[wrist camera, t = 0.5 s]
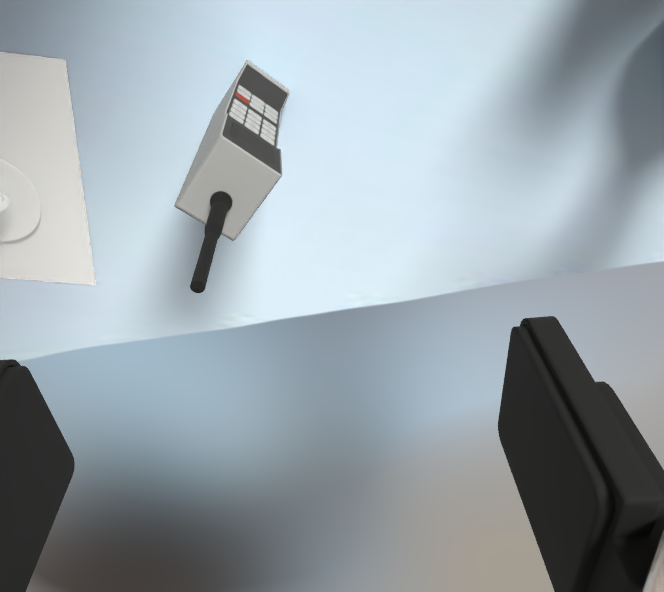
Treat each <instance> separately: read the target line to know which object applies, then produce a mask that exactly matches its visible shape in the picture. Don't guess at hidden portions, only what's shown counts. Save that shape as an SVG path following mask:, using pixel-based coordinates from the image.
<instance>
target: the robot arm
mask: <svg viewBox="0 0 664 592" xmlns="http://www.w3.org/2000/svg"><path fill="white" fill-rule="evenodd" d="M498 431H499V437H500V441H501V444H502V447H503V449H504V452H505V455H506V458H507V460H508V463H509V466H510V469H511V472H512V474H513V477H514V480H515V483H516V485H517V488H518V491H519V494H520V496H521V499H522V502H523V505H524V508H525V510H526V513H527V516H528V519H529V521H530V524H531V527H532V530H533V532H534V535H535V538H536V541H537V544H538V546H539V549H540V552H541V555H542V557H543V560H544V563H545V566H546V569H547V571H548V574H549V577H550V580H551V582H552V585H553V588H554V591H555V592H664V470H663V468H662V467H661V465H660V464H659V462H658V461H657V459H656V457H655V456H654V454H653V452H652V451H651V449H650V448H649V446H648V445H647V443H646V441H645V440H644V438H643V436H642V435H641V433H640V432H639V430H638V429H637V427H636V425H635V424H634V422H633V421H632V419H631V417H630V416H629V414H628V413H627V411H626V410H625V408H624V406H623V405H622V403H621V401H620V400H619V398H618V397H617V395H616V394H615V392H614V391H613V389H612V388H611V387H610V386H609V385H608V384H606V383H605V382H595V381H594V379H593V378H592V376H591V374H590V373H589V371H588V370H587V368H586V366H585V365H584V363H583V361H582V359H581V358H580V356H579V354H578V353H577V351H576V349H575V348H574V346H573V345H572V343H571V341H570V340H569V338H568V336H567V335H566V333H565V331H564V330H563V328H562V326H561V325H560V323H559V321H558V320H557V319H556V318H555V317H553V316H549V317H537V318H525V319H523V320H522V321H521V324H520V326H519V327H513V328H512V331H511V336H510V343H509V350H508V357H507V364H506V371H505V378H504V385H503V392H502V399H501V406H500V413H499V421H498ZM73 472H74V458H73V455H72V453H71V451H70V449H69V447H68V445H67V443H66V441H65V439H64V437H63V435H62V433H61V431H60V429H59V427H58V426H57V424H56V422H55V420H54V418H53V416H52V414H51V412H50V410H49V408H48V406H47V404H46V402H45V400H44V398H43V396H42V394H41V392H40V390H39V389H38V386H37V384H36V382H35V381H34V379H33V377H32V375H31V373H30V371H29V370H28V368H27V367H25V366H21V365H20V364H19V363H18V362H17V361H16V360H0V592H25V591H26V589H27V586H28V584H29V581H30V579H31V576H32V574H33V572H34V569H35V567H36V564H37V561H38V559H39V557H40V554H41V552H42V549H43V547H44V544H45V542H46V539H47V537H48V534H49V532H50V530H51V527H52V525H53V522H54V520H55V517H56V514H57V512H58V510H59V507H60V505H61V502H62V500H63V498H64V495H65V493H66V490H67V488H68V485H69V483H70V480H71V478H72V475H73Z"/></svg>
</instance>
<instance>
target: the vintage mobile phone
mask: <svg viewBox="0 0 664 592" xmlns="http://www.w3.org/2000/svg"><path fill="white" fill-rule="evenodd" d="M288 95H289V90H288V89H287V88H286V87H284V86H283V85H282V84H280V83H279V82H278V81H276V80H275V79H273V78H272V77H271V76H269V75H268V74H267V73H265V72H264V71H263V70H261V69H260V68H258V67H257V66H256V65H254V64H253V63H252V62H250V61H249V60H247V61H246V63H245V64H244V66H243V68H242V69H241V71H240V72H239V74H238V76H237V77H236V79H235V80H234V82H233V84H232V85H231V87H230V88H229V90H228V92H227V93H226V95H225V96H224V98H223V100H222V101H221V103H220V104H219V106H218V108H217V109H216V111H215V112H214V114H213V117H212V119H211V121H210V124H209V126H208V128H207V131H206V133H205V135H204V138H203V140H202V142H201V145H200V147H199V149H198V152H197V154H196V156H195V159H194V161H193V163H192V166H191V168H190V170H189V173H188V175H187V177H186V180H185V182H184V184H183V187H182V189H181V191H180V194H179V196H178V198H177V201H176V203H175V207H176V208H178V209H179V210H181V211H183V212H185V213H186V214H188V215H190V216H191V217H193V218H195V219H196V220H198V221H200V222H202V223H203V224H205V225H206V226H205V238H204V241H203V244H202V248H201V251H200V255H199V258H198V261H197V265H196V268H195V271H194V275H193V278H192V281H191V285H190V288H191V290H192V291H193V292H195V293H201V292H203V291H204V290H205V286H206V282H207V278H208V275H209V271H210V267H211V263H212V259H213V255H214V251H215V247H216V244H217V240H218V238H219V237H220V235H221V234H222V235H224V236H225V237H227V238H229V239H230V240H232V241H234V240H235V239H236V238H237V236H238V235H239V234H240V232H241V231H242V229H243V228H244V227H245V225H246V224H247V223H248V221H249V220H250V219H251V217H252V216H253V214H254V213H255V212H256V210H257V209H258V208H259V206H260V205H261V204H262V202H263V201H264V199H265V198H266V197H267V195H268V194H269V193H270V191H271V190H272V189H273V187H274V186H275V184H276V183H277V182H278V180H279V179H280V178H281V176H282V161H281V149H277V143H278V134H279V126H280V117H281V111H282V109H283V107H284V105H285V102H286V100H287V98H288Z"/></svg>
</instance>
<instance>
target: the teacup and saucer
mask: <svg viewBox="0 0 664 592" xmlns="http://www.w3.org/2000/svg"><path fill="white" fill-rule="evenodd" d="M41 216H42V205H41V200H40V197H39V194H38V192H37V190H36V188H35V187H34V185H33V184H32V182H31V181H30V180H29V178H28V177H27V176H26V175H25V174H24V173H23V172H22V171H21V170H19V169H18V168H17V167H16V166H14V165H13V164H11V163H10V162H8V161H6V160H4V159H2V158H0V242H14V241H18V240H21V239H23V238H25V237H27V236H29V235H30V234H31V233H32V232H33V231H34V230H35V229H36V228H37V226H38V225H39V223H40V220H41Z"/></svg>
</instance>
